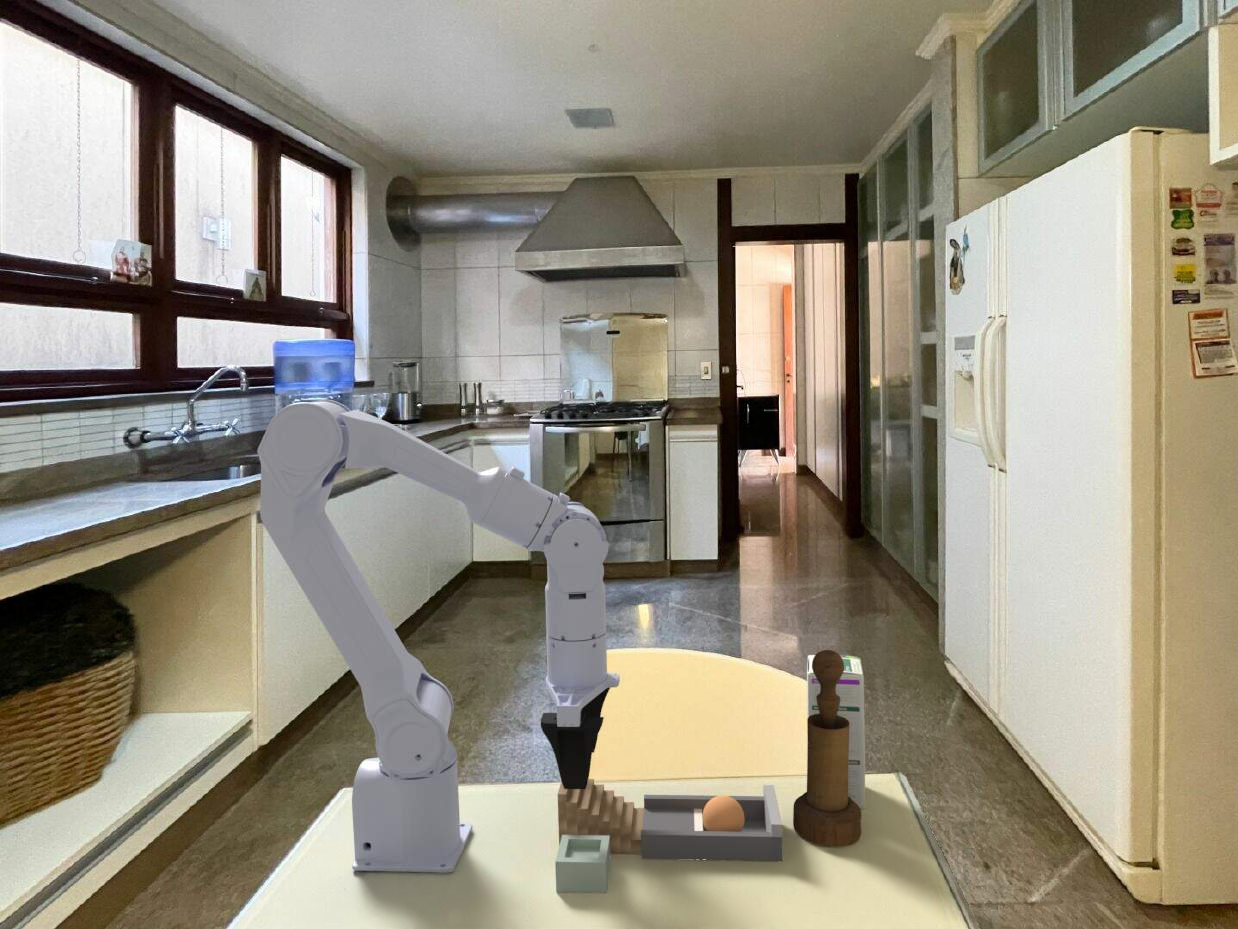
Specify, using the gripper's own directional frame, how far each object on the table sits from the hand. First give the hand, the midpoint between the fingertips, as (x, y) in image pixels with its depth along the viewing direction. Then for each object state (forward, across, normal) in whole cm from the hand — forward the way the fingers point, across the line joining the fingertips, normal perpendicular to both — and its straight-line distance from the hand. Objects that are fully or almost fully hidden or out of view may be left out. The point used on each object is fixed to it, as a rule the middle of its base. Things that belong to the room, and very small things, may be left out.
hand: (580, 768), depth 84 cm
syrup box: (+7, +9, -26) cm, 28 cm away
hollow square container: (+7, -7, -1) cm, 10 cm away
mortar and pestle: (+7, +2, -24) cm, 25 cm away
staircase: (+7, 0, -2) cm, 7 cm away
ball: (+5, 0, -14) cm, 15 cm away
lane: (+7, 0, -12) cm, 14 cm away
